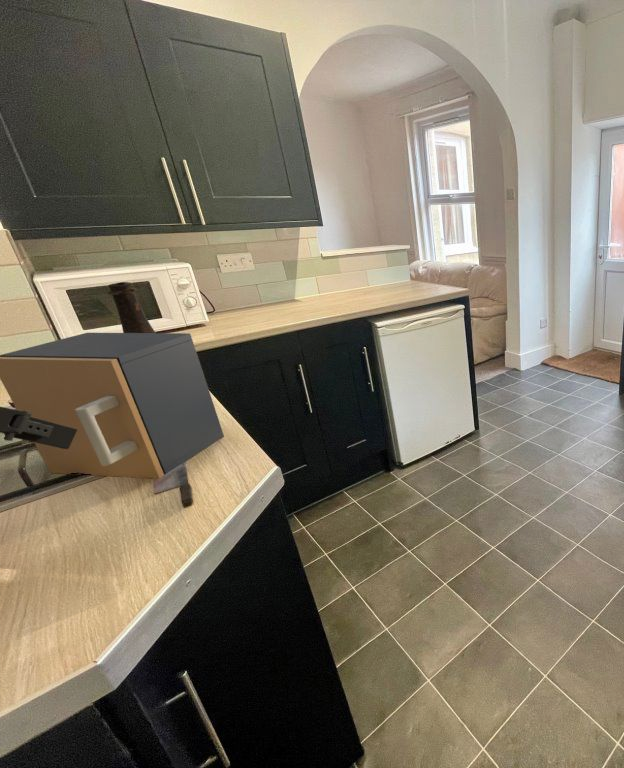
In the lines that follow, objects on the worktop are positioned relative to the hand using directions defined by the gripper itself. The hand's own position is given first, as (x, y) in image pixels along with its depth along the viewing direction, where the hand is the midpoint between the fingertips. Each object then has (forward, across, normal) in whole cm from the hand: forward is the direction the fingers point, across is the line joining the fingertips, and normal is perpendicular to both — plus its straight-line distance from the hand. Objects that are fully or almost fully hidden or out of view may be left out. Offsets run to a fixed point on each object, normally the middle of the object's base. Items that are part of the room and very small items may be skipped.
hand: (28, 437), depth 57 cm
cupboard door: (+18, +9, +4) cm, 20 cm away
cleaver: (+18, -7, +4) cm, 20 cm away
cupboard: (+25, +9, -4) cm, 27 cm away
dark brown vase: (+48, +38, -27) cm, 67 cm away
